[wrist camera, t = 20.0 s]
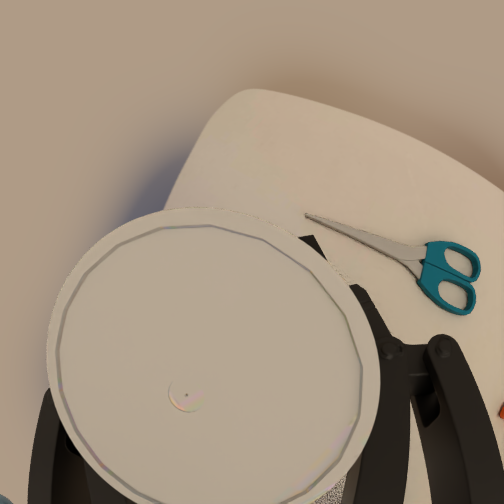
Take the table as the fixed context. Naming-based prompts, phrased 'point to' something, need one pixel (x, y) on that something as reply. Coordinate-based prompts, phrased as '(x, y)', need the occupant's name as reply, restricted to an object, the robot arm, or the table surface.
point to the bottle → (212, 362)
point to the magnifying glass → (502, 413)
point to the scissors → (431, 266)
